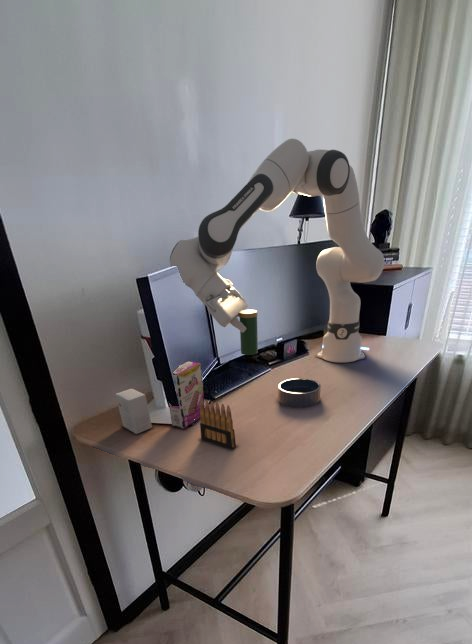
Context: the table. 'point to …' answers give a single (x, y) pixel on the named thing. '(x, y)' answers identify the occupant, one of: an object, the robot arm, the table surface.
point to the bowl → (299, 392)
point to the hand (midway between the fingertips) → (248, 327)
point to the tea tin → (249, 332)
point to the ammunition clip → (217, 425)
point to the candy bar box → (187, 394)
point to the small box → (134, 410)
